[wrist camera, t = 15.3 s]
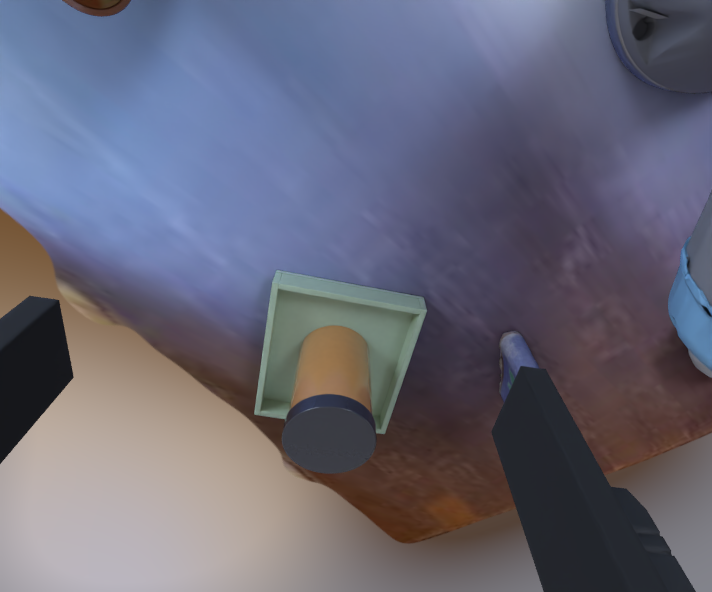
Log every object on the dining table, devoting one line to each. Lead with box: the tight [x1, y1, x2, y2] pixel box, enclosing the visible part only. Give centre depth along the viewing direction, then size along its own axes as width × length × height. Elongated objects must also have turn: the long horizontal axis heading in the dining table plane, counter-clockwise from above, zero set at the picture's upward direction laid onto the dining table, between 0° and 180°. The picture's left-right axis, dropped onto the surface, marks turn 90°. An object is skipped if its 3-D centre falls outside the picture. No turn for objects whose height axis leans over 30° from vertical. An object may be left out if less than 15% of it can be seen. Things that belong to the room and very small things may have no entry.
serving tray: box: [254, 270, 427, 434], centre depth 45 cm, size 14×16×2 cm
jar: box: [282, 325, 377, 473], centre depth 41 cm, size 8×8×12 cm
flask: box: [499, 331, 539, 402], centre depth 43 cm, size 9×3×11 cm, turn 9°
